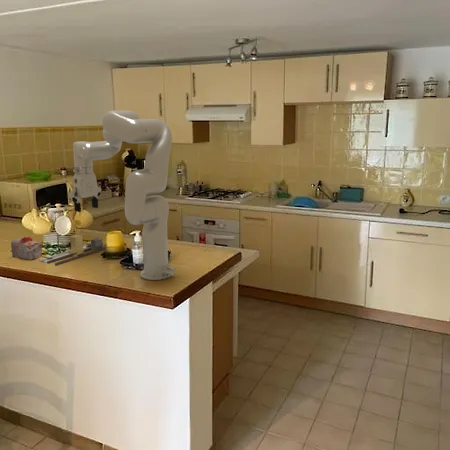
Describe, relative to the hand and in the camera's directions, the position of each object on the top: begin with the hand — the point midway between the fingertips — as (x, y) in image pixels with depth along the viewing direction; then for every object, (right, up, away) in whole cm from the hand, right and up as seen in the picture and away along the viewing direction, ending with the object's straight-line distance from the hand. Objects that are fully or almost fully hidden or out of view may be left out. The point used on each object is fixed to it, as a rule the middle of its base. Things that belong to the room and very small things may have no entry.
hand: (86, 209), depth 202 cm
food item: (-26, -22, 0) cm, 34 cm away
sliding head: (-6, -20, +1) cm, 21 cm away
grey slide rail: (-6, -21, +1) cm, 22 cm away
